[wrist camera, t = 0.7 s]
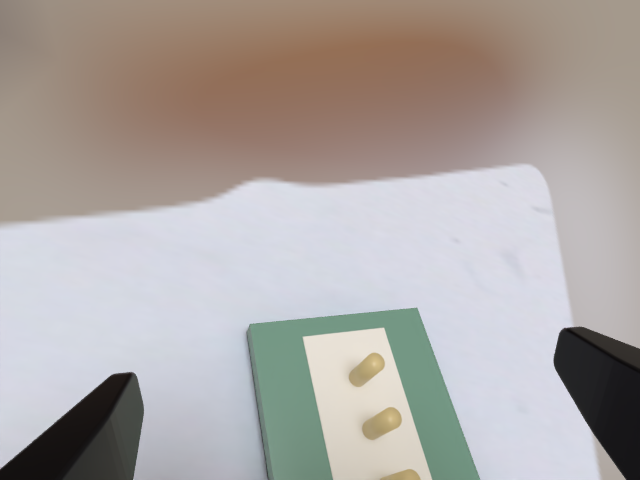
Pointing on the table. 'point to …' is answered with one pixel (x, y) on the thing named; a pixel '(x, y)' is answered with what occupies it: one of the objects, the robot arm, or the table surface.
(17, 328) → the table surface
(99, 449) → the robot arm
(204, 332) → the table surface
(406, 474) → the board
